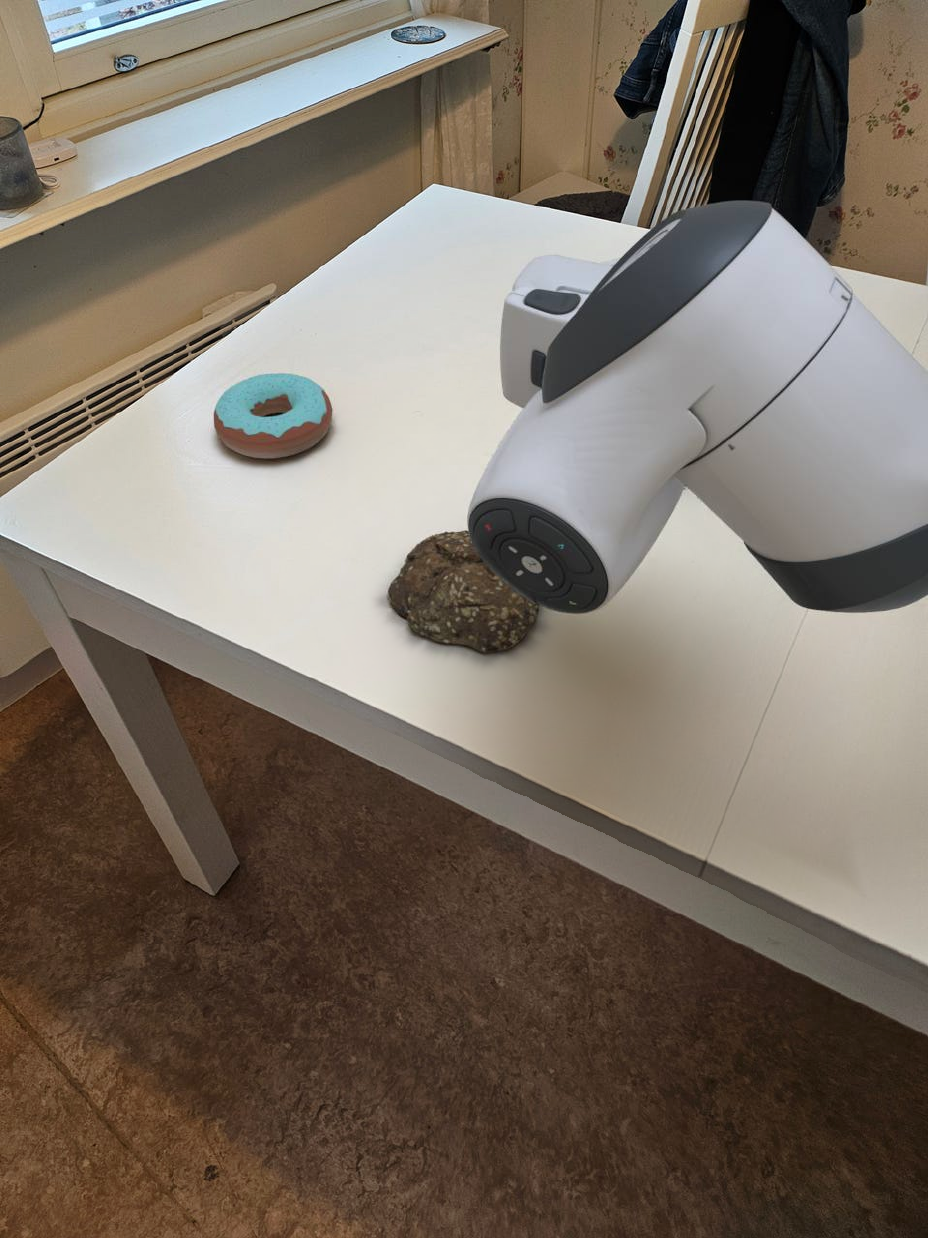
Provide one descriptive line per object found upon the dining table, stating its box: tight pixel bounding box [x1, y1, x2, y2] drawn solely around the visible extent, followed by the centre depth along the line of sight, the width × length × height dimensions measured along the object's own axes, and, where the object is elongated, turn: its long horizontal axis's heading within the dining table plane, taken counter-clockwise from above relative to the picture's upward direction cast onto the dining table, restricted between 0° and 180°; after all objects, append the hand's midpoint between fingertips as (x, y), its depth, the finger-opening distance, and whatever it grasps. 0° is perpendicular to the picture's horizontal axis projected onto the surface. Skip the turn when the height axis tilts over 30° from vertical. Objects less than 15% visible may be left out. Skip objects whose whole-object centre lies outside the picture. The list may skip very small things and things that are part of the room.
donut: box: [213, 372, 333, 460], centre depth 88 cm, size 12×12×4 cm
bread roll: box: [387, 529, 540, 654], centre depth 71 cm, size 13×12×5 cm
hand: (712, 275), depth 56 cm, fingers open, 8 cm apart
